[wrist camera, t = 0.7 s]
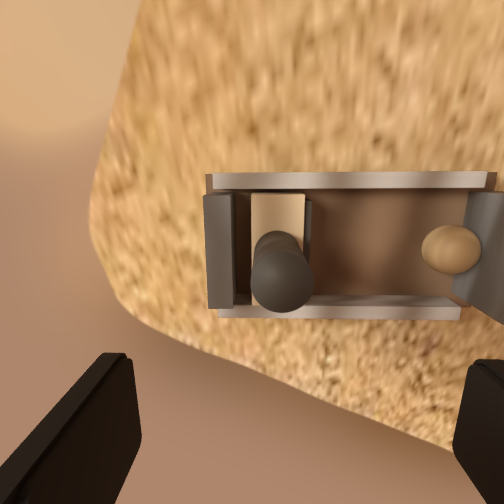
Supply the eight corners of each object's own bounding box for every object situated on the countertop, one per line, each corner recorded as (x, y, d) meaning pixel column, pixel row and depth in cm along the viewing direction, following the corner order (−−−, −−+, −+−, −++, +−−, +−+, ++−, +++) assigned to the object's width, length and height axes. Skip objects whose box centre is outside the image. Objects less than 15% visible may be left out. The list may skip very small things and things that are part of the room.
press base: (484, 171, 26) (571, 170, 18) (459, 301, 29) (525, 344, 22) (208, 172, 27) (187, 173, 19) (214, 298, 30) (198, 339, 22)
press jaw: (307, 192, 25) (333, 203, 16) (303, 291, 27) (324, 354, 18) (252, 192, 25) (246, 204, 16) (253, 291, 27) (247, 353, 18)
